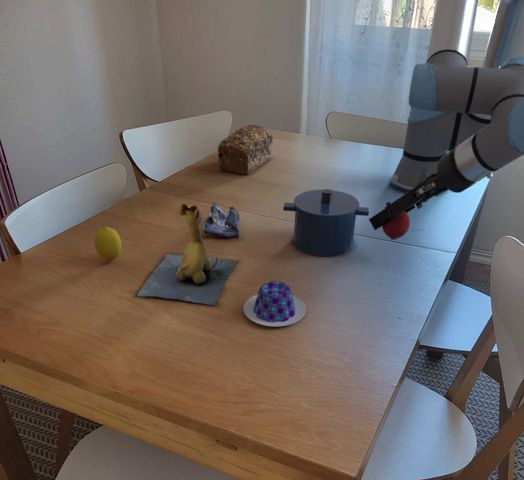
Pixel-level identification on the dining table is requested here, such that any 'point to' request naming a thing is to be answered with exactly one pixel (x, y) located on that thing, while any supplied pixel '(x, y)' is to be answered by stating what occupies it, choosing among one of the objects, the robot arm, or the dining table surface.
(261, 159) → the bread
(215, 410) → the dining table surface
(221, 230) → the snack package
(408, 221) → the onion
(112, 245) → the lemon
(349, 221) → the pot
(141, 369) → the dining table surface
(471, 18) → the robot arm
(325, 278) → the dining table surface
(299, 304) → the pudding
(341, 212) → the pot lid
